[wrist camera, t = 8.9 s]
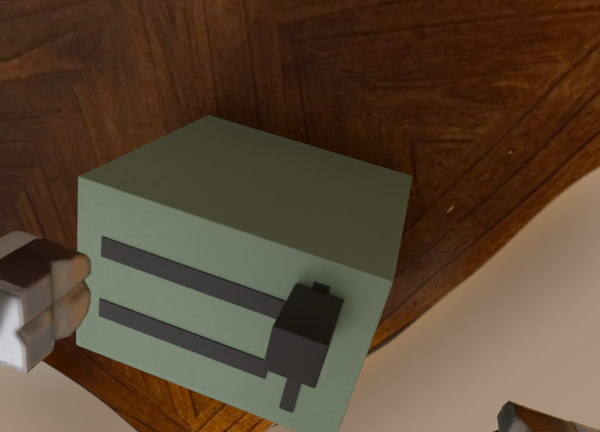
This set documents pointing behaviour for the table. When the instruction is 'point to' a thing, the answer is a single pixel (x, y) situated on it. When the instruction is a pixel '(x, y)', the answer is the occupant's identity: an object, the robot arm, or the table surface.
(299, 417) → the toaster
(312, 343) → the toaster slider
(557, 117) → the table surface
